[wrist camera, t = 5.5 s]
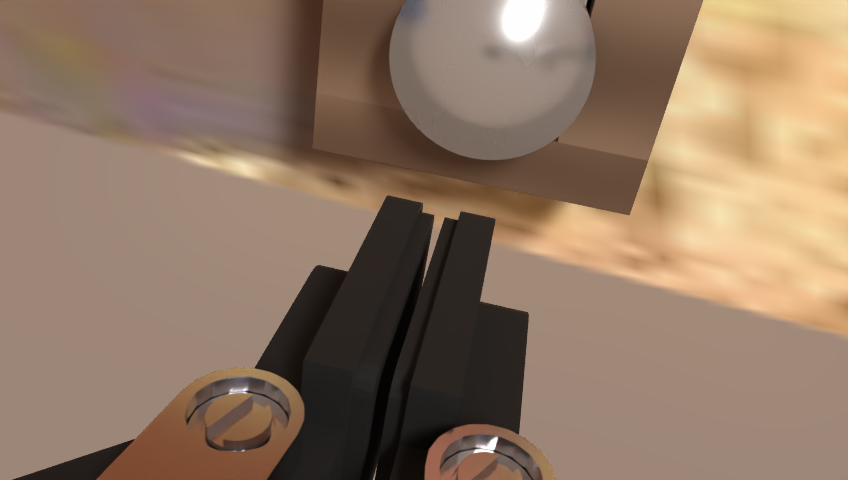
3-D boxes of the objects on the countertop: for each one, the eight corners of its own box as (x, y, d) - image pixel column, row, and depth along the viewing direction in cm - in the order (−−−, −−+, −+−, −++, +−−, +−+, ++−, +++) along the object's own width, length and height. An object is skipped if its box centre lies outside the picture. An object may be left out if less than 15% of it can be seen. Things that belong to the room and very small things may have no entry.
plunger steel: (440, -87, 27) (403, -65, 21) (608, -56, 26) (622, -23, 20) (415, 76, 30) (377, 138, 24) (565, 107, 30) (565, 177, 23)
